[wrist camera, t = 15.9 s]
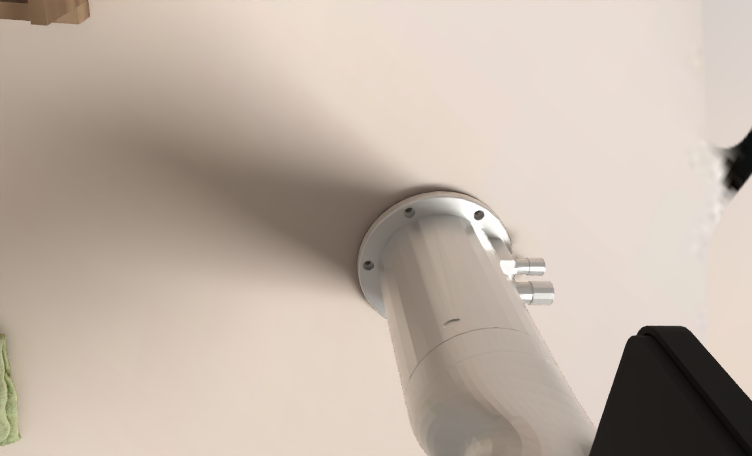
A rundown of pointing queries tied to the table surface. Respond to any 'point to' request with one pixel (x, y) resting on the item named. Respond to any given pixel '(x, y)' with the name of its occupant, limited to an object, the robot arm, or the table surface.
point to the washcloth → (7, 400)
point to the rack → (45, 11)
